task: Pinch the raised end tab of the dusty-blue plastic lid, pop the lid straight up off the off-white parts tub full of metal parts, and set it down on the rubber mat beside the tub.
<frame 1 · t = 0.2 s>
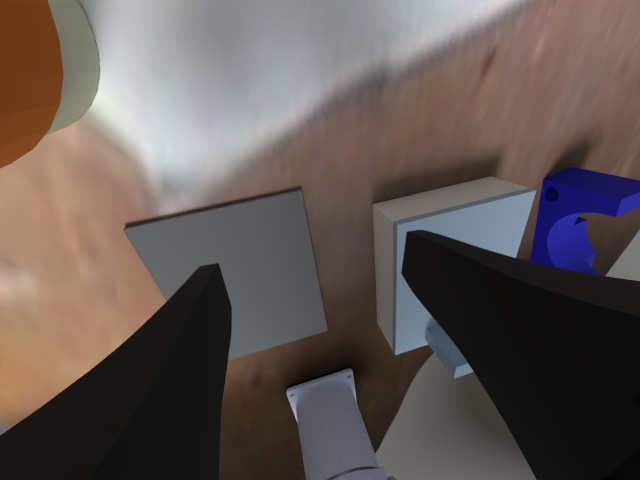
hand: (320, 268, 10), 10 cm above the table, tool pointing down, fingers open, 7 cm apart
lid: (451, 279, 22), point 3 cm above the table, touching tub
mat: (247, 288, 21), on the table
cable clip: (550, 221, 27), on the table
tub: (427, 257, 25), on the table
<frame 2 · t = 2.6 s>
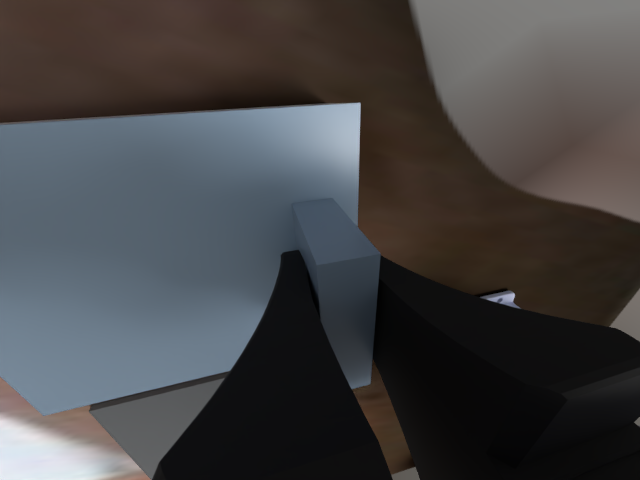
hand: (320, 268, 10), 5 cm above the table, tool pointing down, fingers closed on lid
lid: (181, 273, 10), point 3 cm above the table, touching gripper, tub
mat: (231, 420, 21), on the table
tub: (198, 233, 13), on the table
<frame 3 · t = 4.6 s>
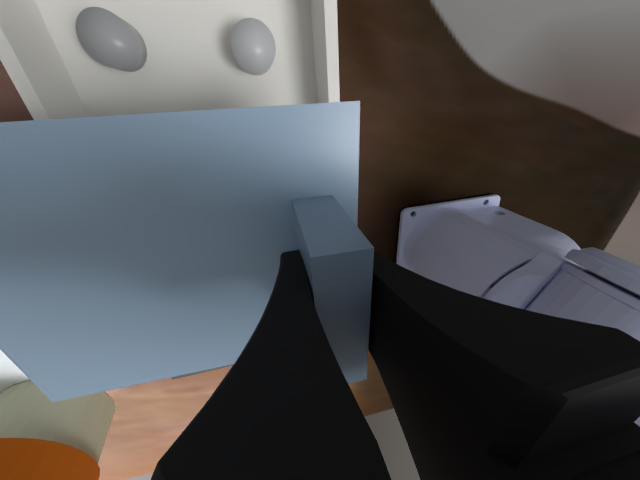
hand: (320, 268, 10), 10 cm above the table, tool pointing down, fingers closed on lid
lid: (185, 267, 10), point 9 cm above the table, touching gripper
reusable coffee cup: (59, 407, 24), on the table
tub: (209, 97, 15), on the table
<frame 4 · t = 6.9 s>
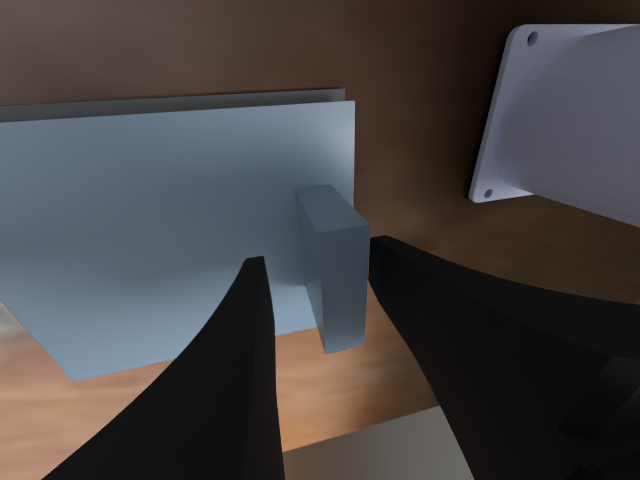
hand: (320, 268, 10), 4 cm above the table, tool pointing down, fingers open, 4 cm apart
lid: (197, 252, 11), point 1 cm above the table, touching mat
mat: (195, 240, 12), on the table
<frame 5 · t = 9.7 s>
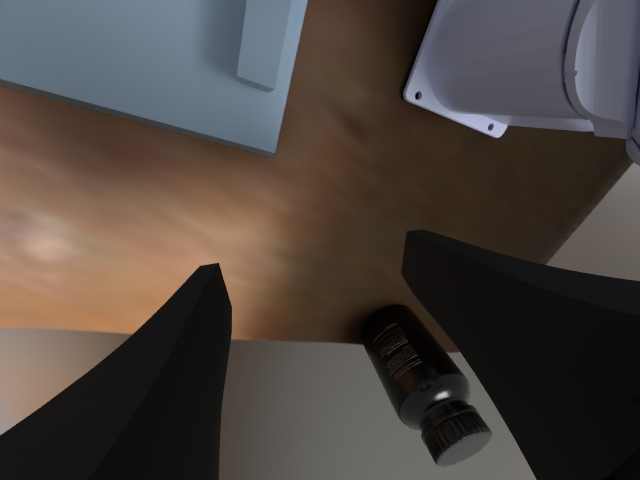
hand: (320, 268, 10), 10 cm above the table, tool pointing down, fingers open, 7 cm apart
supplement bottle: (387, 325, 29), on the table
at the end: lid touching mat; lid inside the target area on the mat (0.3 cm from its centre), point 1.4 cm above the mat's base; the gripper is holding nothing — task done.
